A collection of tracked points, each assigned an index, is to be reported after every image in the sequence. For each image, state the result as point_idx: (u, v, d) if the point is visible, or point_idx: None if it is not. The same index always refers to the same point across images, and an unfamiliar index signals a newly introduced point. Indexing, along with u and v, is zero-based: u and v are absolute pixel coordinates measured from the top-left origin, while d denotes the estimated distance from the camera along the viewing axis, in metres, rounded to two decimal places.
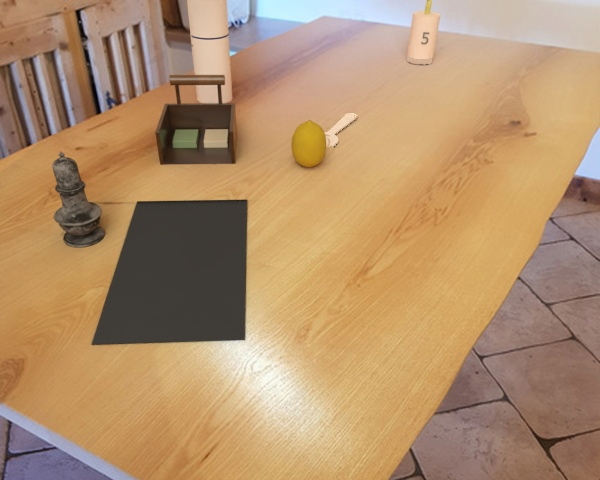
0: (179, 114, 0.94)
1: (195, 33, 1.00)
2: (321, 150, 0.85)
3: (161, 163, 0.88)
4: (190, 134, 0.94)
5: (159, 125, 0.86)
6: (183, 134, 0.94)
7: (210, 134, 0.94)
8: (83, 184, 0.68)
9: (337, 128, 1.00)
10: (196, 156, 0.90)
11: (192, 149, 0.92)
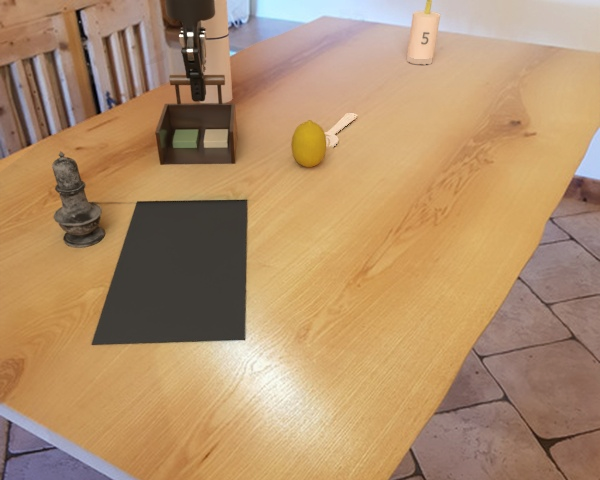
0: (179, 114, 0.94)
1: None
2: (321, 150, 0.85)
3: (161, 163, 0.88)
4: (190, 134, 0.94)
5: (159, 125, 0.86)
6: (183, 134, 0.94)
7: (210, 134, 0.94)
8: (83, 184, 0.68)
9: (337, 128, 1.00)
10: (196, 156, 0.90)
11: (192, 149, 0.92)
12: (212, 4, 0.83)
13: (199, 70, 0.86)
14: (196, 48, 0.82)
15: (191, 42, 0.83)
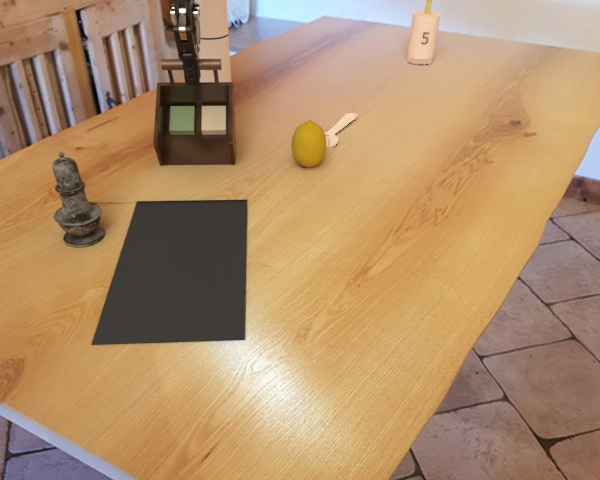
0: (173, 92, 0.89)
1: None
2: (321, 150, 0.85)
3: (161, 165, 0.88)
4: (186, 116, 0.90)
5: (156, 130, 0.84)
6: (179, 116, 0.90)
7: (207, 116, 0.90)
8: (83, 184, 0.68)
9: (337, 128, 1.00)
10: (195, 151, 0.89)
11: (190, 137, 0.90)
12: None
13: (193, 51, 0.78)
14: (189, 26, 0.75)
15: (183, 19, 0.75)
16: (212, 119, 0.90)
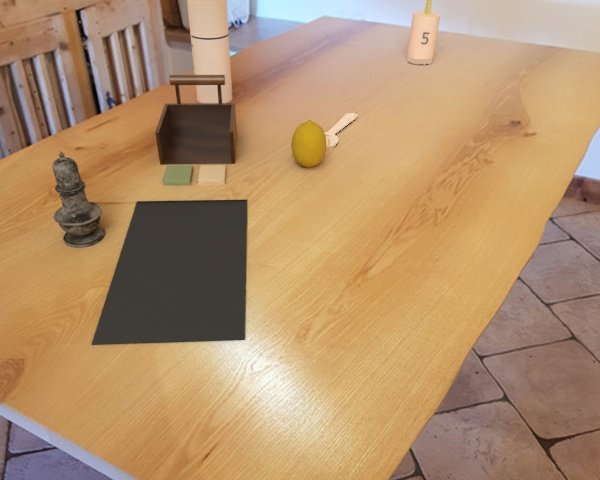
0: (179, 114, 0.94)
1: (195, 33, 1.00)
2: (321, 150, 0.85)
3: (161, 163, 0.88)
4: None
5: (159, 125, 0.86)
6: None
7: None
8: (83, 184, 0.68)
9: (337, 128, 1.00)
10: (196, 156, 0.90)
11: (192, 149, 0.92)
12: None
13: None
14: None
15: None
16: None
